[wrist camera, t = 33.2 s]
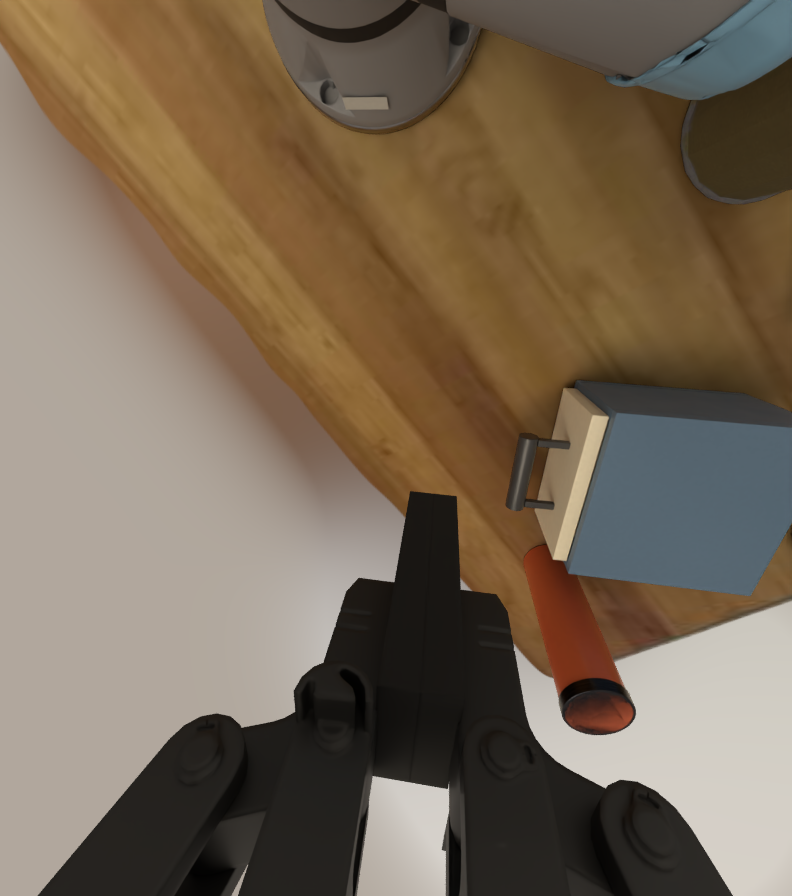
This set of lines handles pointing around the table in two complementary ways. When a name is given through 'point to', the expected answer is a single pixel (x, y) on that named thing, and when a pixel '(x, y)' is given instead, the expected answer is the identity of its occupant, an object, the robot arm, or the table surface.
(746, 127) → the canister
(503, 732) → the robot arm
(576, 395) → the drawer
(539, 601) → the orange cylinder
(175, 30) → the table surface
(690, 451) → the desk cabinet
